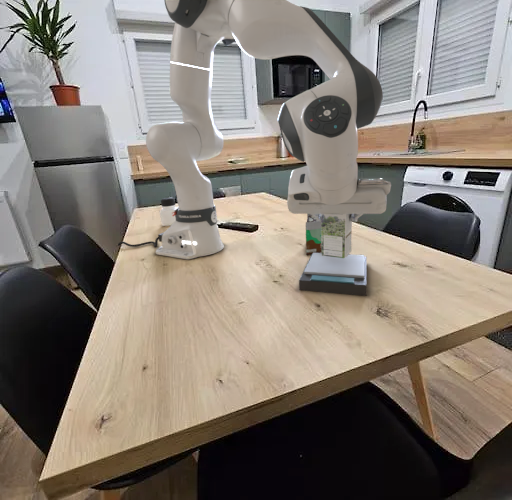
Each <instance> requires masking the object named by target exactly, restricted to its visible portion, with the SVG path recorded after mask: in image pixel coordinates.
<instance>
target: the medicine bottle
mask: <svg viewBox="0 0 512 500" xmlns="http://www.w3.org/2000/svg"><path fill="white" fill-rule="evenodd" d="M160 203H161V204H160V205H161V209H160V210H159V212H158V213H159V219H160V223H161V226H162V227H170V226H171V225H172V224H173V223H174V222H175V221H176V215H175V216H172V215H173V214H174V213H173V212H175V211H176V210H178V209H179V207H178V206H176V200H175V198H174V197H164V198H161V200H160Z"/></svg>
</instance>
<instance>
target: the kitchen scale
mask: <svg viewBox="0 0 512 500" xmlns="http://www.w3.org/2000/svg"><path fill="white" fill-rule="evenodd" d="M367 259H368V257H367V256H366V255H365V254H355V253H354V254H352V253H349V254H348V255H347V257H345V258H338V257H330V256H322V252H320V253H313V254H311V255H309V259H308V261H307V263H306V264H305V266H304V269H303V271H302V273H301V275H300V277H299V279H298V282H299V283H298V288H299V289H298V290H299V291H307V292H309V291H310V292H319V293H329V294H330V293H331V294H341V295H353V296H364V297H365V296H366V297H367V286H368V285H367V284H368V283H367V281H368V279H367V276H368V275H367V274H368V272H367V271H368V269H367V267H368V266H367V265H368V264H367Z"/></svg>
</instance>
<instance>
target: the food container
mask: <svg viewBox="0 0 512 500" xmlns="http://www.w3.org/2000/svg"><path fill="white" fill-rule="evenodd" d="M305 253H306V254H305V255H306V256H311V254H313V253H322V244H321V221H317V219H316V218H315V217H314V216H312V215H310V214H306V221H305Z"/></svg>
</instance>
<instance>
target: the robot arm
mask: <svg viewBox="0 0 512 500" xmlns="http://www.w3.org/2000/svg"><path fill="white" fill-rule="evenodd" d="M164 5H165V6H164V7H165V9H166V12H167V14H168V17H169V18H170V20H172V21H173V22H174V25H173V26H174V27H173V32H172V37H171V45H170V53H169V54H170V56H169V60H170V61H169V96H170V98H171V100H172V101H173V103H175V104H176V105H177V106H178V107H179V109H180V113H181V115H182V122H180V121H165V122H162V123H161V122H160V123H158V124H157V123H156V124H154V125H152V126H151V127H149V129H148V130H147V133H146V136H145V145H146V146H145V147H146V149H147V151H148V153H149V155H150V157H151V158H152V159H153V160H154V161H156V162H157V163H158V164H160V165H161V166H162V167H163V168H164V169H165V171H166V172H167V174H168V175H169V177H170V178H171V180H172V181H171V182H172V183H173V187H174V190H175V195H176V200H177V207H179V209H178V210H176V211H175V212H173V213H174V214H173V215H172V216H175V215H176V221H175V222H174V223H173V224H172V225H171V226H168V228H167V229H166V230H165V231H163V232H161V233H158V234H157V237H156V238H155V239H154V241H151V240H150V241H144V242H141V243H137V244H131V243H129V242H126V241H119V242H118V244H117V246H121V245H122V244H123V245H125V246H126V247H131V248H137V247H141V246H144V245H145V246H146V245H150V244H152V245H153V247H154V248H156V250H155V255H158V256H164V257H171V258H176V259H182V260H193V259H196V258H199V257H205V256H210V255H213V254H216V253H219V252H222V250H223V249H224V248H225V245H224V243H223V241H222V237H221V235H220V231H219V226H218V215H217V207H216V205H215V202H214V193H213V185H212V182H211V180H210V178H209V177H207V176H206V175H204V174H203V173H202V172H201V170H200V168H199V166H198V163H197V162H201V161H202V162H203V161H208V160H210V159H213V158H215V157H217V156H219V155H220V154H221V153H222V151H223V149H224V144H225V143H224V142H225V141H224V136H223V133H222V131H221V130H220V128H219V127H218V126H217V124H216V121H215V119H214V114H213V110H212V86H213V85H212V84H213V83H212V82H213V70H214V53H215V48H216V47H217V45H218V44H219V42H222V44H223V45H224V46H225V47H227V46H228V47H229V46H231V45H232V44H236V43H237V45H238V46H239V48H240V49H241V50H242V51H243V52H244V53H245V54H246V55H248V56H249V57H251V58H253V59H256V60H257V59H258V60H263V61H264V60H267V61H268V60H273V59H278V58H284V57H291V56H304V57H308V58H310V59H311V60H313V61H314V62H315V63H316V65H317V66H318V67H319V68H320V69H321V70H322V72H323V73H324V74H325V75H326V76H327V77H328V80H326V81H324V82H322V83H320V84H317V85H316V86H313V87H311V88H310V89H306V90H305V91H303V92H301V93H298V94H297V95H295V96H293V97H291V98H289V99H288V100H287V101H285V102H283V103H282V104H281V107H280V110H279V114H278V116H277V123H278V126H279V130H280V134H281V138H282V141H283V144H284V147H285V149H286V151H287V152H288V153H289V155H291V156H292V157H293V158H295V159H296V160H298V161H300V162H303V163H304V162H305V163H306V165H303V166H301V167H297V168H294V169H293V170H291V173H290V177H289V181H288V189H287V199H286V205H287V210H288V212H289V213H291V214H293V215H307V214H310V215H312V216H314V217H315V218H316V219H317V221H321V214H351V221H352V222H355V223H356V222H358V219H359V218H360V217H363V215H381V214H383V213H385V212H387V203H388V201H387V199H388V198H387V195H388V194H390V192H391V191H392V183H391V181H388V180H384V178H381V177H379V178H378V177H377V178H358V176H359V175H358V174H359V173H358V172H359V170H358V169H359V168H358V167H359V165H358V162H357V158H358V155H359V136H358V135H359V133H358V129H361V128H364V127H366V126H369V125H371V124H372V123H373V122H374V120H375V119H376V117H377V115H378V113H379V111H380V109H381V106H382V103H383V100H384V94H383V87H382V85H381V82H380V81H379V79H378V77H377V75H376V73H374V72H373V71H372V70H371V69H370V68H368V67H367V66H365V65H364V64H363V63H361V62H360V61H359V60H358V59H357V58H356V57H355V56H354V55H353V53H351V52H350V51H349V50H348V49H347V47H346V46H345V45H344V44H343V42H341V40H340V39H339V38H338V37H337V36H336V35H335V34H334V32H333V31H332V30H331V29H330V28H329V27H328V26H327V24H325V22H324V21H322V19H321V18H320V17H319V16H318V14H316V13H315V12H314V11H313V10H312V9H311V8H309V7H307V6H301V5H297V4H295V3H292V2H290V1H289V0H164ZM159 242H161V246H159V247H158V243H159Z"/></svg>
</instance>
